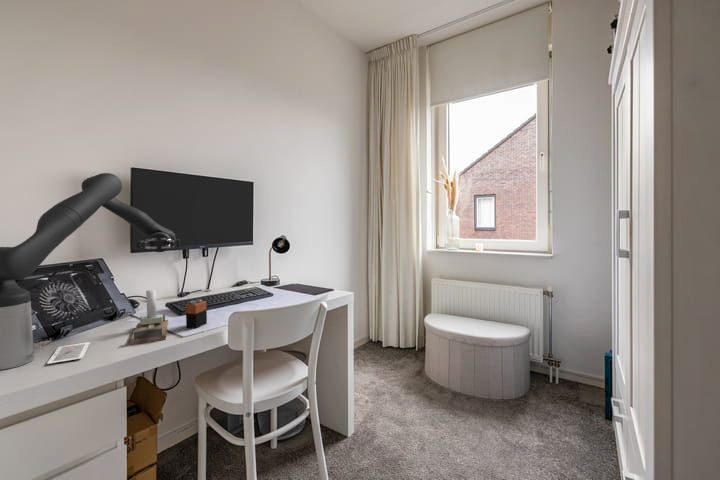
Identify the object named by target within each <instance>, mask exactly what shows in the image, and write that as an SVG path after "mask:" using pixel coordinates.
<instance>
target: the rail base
mask: <svg viewBox="0 0 720 480" xmlns="http://www.w3.org/2000/svg"><path fill="white" fill-rule="evenodd" d="M158 315H163V322H162V323H153V324H145V325H140V322H137V324H136V327H135V329H134V331H133V333H132V335H131V338H130V345H137V344H145V343H150V342H151V343H152V342H159V341H166V340H167V339H166V338H167V331H168V327H167V326H168V325H169V320H168V319H166V314H165V313H162V314H158ZM145 316H146V315H144V316H143V315H142V316H140V317H139V320H140V319H141V317H145Z"/></svg>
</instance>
